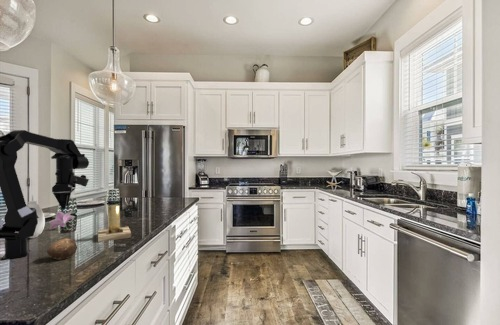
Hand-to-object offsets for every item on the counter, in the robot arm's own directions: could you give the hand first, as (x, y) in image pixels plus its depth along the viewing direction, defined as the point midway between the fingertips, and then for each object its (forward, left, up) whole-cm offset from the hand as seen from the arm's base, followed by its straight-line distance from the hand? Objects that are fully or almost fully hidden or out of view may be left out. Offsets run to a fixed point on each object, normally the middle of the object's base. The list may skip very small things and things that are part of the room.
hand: (65, 207), depth 108 cm
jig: (-7, -18, -13) cm, 23 cm away
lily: (+19, +3, -13) cm, 24 cm away
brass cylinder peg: (-7, -18, -13) cm, 23 cm away
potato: (-26, -2, -13) cm, 29 cm away
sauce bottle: (+8, +12, -13) cm, 20 cm away
